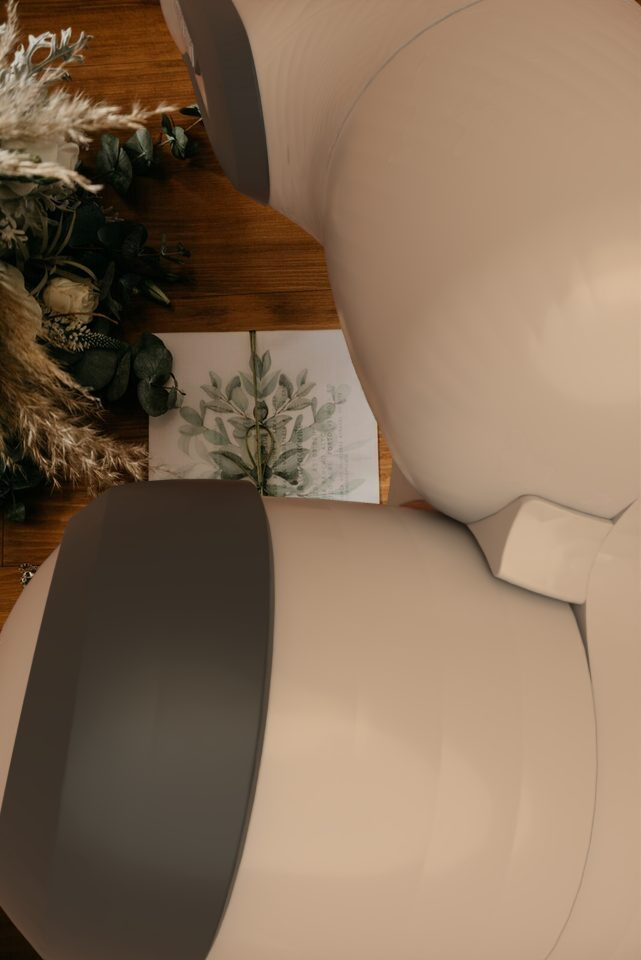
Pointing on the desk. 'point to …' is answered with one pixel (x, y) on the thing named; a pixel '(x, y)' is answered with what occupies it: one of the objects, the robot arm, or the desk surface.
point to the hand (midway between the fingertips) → (364, 72)
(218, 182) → the desk surface
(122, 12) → the desk surface
